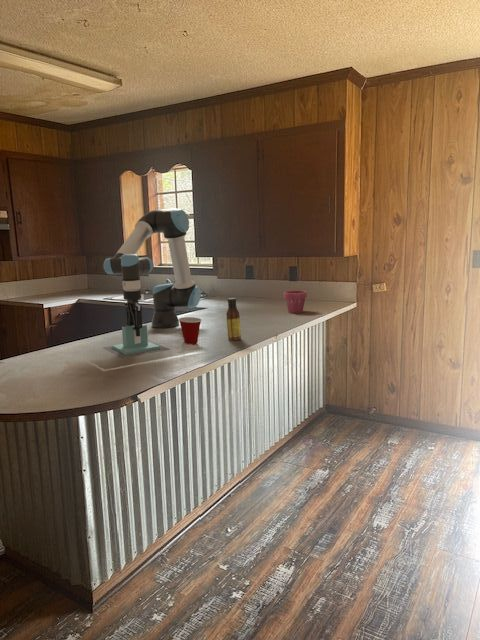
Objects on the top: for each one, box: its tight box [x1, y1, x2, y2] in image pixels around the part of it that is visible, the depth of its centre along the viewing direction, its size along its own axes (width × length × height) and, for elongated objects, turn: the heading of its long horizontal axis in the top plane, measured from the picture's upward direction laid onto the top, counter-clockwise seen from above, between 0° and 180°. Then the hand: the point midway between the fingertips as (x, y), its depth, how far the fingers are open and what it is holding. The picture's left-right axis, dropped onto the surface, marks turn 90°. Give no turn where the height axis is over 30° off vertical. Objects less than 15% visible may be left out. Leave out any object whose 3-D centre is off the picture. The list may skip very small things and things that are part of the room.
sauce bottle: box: [226, 297, 242, 341], centre depth 232 cm, size 7×6×20 cm
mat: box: [103, 340, 171, 359], centre depth 218 cm, size 24×22×1 cm
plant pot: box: [283, 290, 307, 314], centre depth 306 cm, size 14×14×13 cm
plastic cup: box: [178, 316, 203, 346], centre depth 226 cm, size 11×11×12 cm
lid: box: [111, 323, 160, 355], centre depth 217 cm, size 16×16×10 cm
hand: (135, 342), depth 217 cm, fingers closed on lid, 4 cm apart
